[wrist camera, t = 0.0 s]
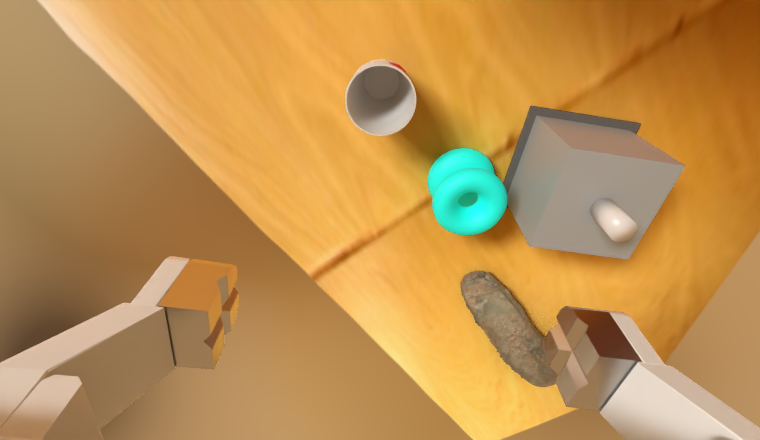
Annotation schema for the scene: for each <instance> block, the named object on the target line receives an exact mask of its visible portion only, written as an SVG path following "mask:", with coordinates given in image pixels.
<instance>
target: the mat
mask: <svg viewBox="0 0 760 440" xmlns="http://www.w3.org/2000/svg"><path fill="white" fill-rule="evenodd" d="M536 115H537V116H543V117H549V118H556V119H562V120H568V121H574V122H581V123H587V124H593V125H599V126H606V127H612V128H618V129H624V130H630V131H632V132H633V133H635V134H636V133H637V131H638V129H639V127H640V125H641V124H640V123H635V122H629V121H623V120H617V119H611V118H604V117H598V116H592V115H586V114H580V113H573V112H567V111H561V110H555V109H549V108H542V107H536V106H530V109H529V112H528V115H527V118H526V120H525V123H524V126H523V129H522V132H521V135H520V137H519V140H518V143H517V146H516V149H515V152H514V154H513V157H512V160H511V163H510V166H509V169H508V171H507V174H506V177H505V180H504V183H503V185H504V186H505V189H506V192H507V195H508V192H509V189H510V186H511V184H512V181H513V178H514V175H515V173H516V170H517V167H518V165H519V162H520V159H521V156H522V154H523V151H524V148H525V145H526V143H527V140H528V137H529V134H530V132H531V129H532V126H533V124H534V121H535V118H536ZM507 208H509V207H508V205H507Z"/></svg>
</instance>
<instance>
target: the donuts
mask: <svg viewBox="0 0 760 440" xmlns="http://www.w3.org/2000/svg"><path fill="white" fill-rule="evenodd" d="M428 188H429V192H430V194H431V196H432V197H433V202H432V207H433V212H434V216H435V218H436V220H437V221H438V223H439V224H440V225H441V226H442V227H443V228H445V229H446V230H448V231H449V232H452V233H454V234H458V235H464V236H469V235H476V234H480V233H483V232H485V231H487V230H489V229H490V228H492V227H493V226H494V225H496V224H497V223H498V222H499V220H500V219H501V218H502V216H503V214H504V212H505V210H506V207H507V192H506V189H505V186H504V185H503V183H502V181H501V180H500V179H499V178H498V177H497V176H496V175H495V172H494V168H493V165H492V163H491V162H490V160H489V159H488V158H487V157H486V156H485V155H484V154H482V153H481V152H479V151H477V150H474V149H470V148H458V149H453V150H450V151H448V152H446V153H444V154H443V155H441V156H440V157H439V158H438V159H437V160H436V161H435V162H434V164H433V165H432V167H431V169H430V171H429V174H428Z"/></svg>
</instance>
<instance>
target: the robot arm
mask: <svg viewBox="0 0 760 440" xmlns="http://www.w3.org/2000/svg"><path fill="white" fill-rule="evenodd" d="M237 279H238V274H237V267H236V266H235V265H231V264H224V263H217V262H210V261H203V260H197V259H188V258H180V257H174V256H170V257H168V258H166V259H165V260H164V261H163V263H162V264H161V265H160V267H159V268H158V269H157V270H156V272H155V273H154V274H153V276H152V277H151V278H150V280H149V281H148V282H147V283H146V285H145V286H144V287H143V288H142V290H141V291H140V292H139V293H138V295H137V296H136V297H135V299H134V300H133V301H132V302H131V304H130V303H122V304H120V305H118V306H116V307H114V308H112V309H110V310H108V311H106V312H104V313H102V314H100V315H98V316H96V317H94V318H91V319H90V320H87V321H85V322H83V323H81V324H79V325H77V326H75V327H73V328H71V329H69V330H67V331H65V332H63V333H60V334H58V335H56V336H54V337H52V338H50V339H48V340H46V341H44V342H42V343H40V344H38V345H36V346H34V347H32V348H30V349H28V350H25V351H23V352H22V353H19V354H17V355H15V356H13V357H11V358H9V359H7V360H5V361H3V362H1V363H0V440H103V437H102V434H101V432H100V429H101V428H102V427H104V426H105V425H106V424H107V423H108V422H110V421H111V420H112V419H113V418H115V417H116V416H117V415H118V414H119V413H121V412H122V411H123V410H125V409H126V408H127V407H128V406H130V405H131V404H132V403H133V402H134V401H136V400H137V399H138V398H139V397H141V396H142V395H143V394H144V393H146V392H147V391H148V390H149V389H150V388H152V387H153V386H154V385H155V384H157V383H158V382H159V381H160V380H162V379H163V378H164V377H165V376H167V375H168V374H169V373H170V372H171V371H173V370H174V369H175V366H176V367H189V368H202V369H215V366H216V364H217V362H218V359H219V357H220V355H221V352H222V350H223V348H224V335H225V334H227V333H228V332H230V331H231V329H232V327H233V325H234V322H235V319H236V315H237V311H238V303H239V293H238V291H237V290H236V289H235V288H234V285H235V283H236V281H237ZM557 320H558V323H559V324H558V325H556V326H555V327H553V328H551V329H550V330H549V332H548V334H547V336H546V338H545V347H544V351H545V356H546V360H547V362H548V365H549V367H550V368H551V369H552V370H554V371H555V372H556V373H557V374H558V377H557V380H556V384H557V386H558V389H559V391H560V393H561V396H562V398H563V400H564V403H565V405H566V407H573V408H581V409H589V410H596V411H601V412H600V414H601V415H602V416H603V417H604V418H605V419H606V420H607V421H608V422H609V423H610V424H611V425H612V427H613V428H615V430H616V431H617V432H618V433H619V434H620V435H621V436H622V437H623V438H624V439H625V440H760V428H759V427H757V426H756V425H754V424H753V423H752V422H750V421H749V420H747V419H746V418H745V417H743V416H742V415H740V414H739V413H737V412H736V411H734V410H733V409H732V408H730V407H729V406H727V405H726V404H725V403H723V402H722V401H720V400H719V399H718V398H716V397H715V396H713V395H712V394H710V393H709V392H708V391H706V390H705V389H703V388H702V387H701V386H699V385H698V384H696V383H695V382H693V381H692V380H691V379H689V378H688V377H686V376H685V375H684V374H682V373H680V372H679V371H678V370H676V369H675V368H673V367H672V366H668V365H665V364H664V363H663V361H662V360H661V359H660V357H659V356H658V355H657V353H656V352H655V350H654V349H653V348H652V346H651V345H650V343H649V342H648V341H647V339H646V338H645V337H644V335H643V334H642V332H641V331H640V330H639V328H638V327H637V326H636V324H635V323H634V321H633V320H632V319H631V317H630V316H629V315H627V314H626V313H624V312H616V311H607V310H604V311H602V310H594V309H586V308H577V307H569V306H565V307H564V308H562V309H561V310H560V312H559V313H558V315H557Z"/></svg>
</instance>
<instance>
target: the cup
mask: <svg viewBox="0 0 760 440" xmlns="http://www.w3.org/2000/svg"><path fill="white" fill-rule="evenodd" d="M345 106H346V110H347V113H348V115H349V117H350V119H351V121H352V122H353V123H354V124H355V125H356V126H357V127H358V128H359V129H361V130H362V131H364V132H366V133H368V134H371V135H376V136H386V135H391V134H394V133H396V132H398V131H400V130H401V129H402V128H404V127H405V126H406V125H407V124H408V123H409V121H410V120H411V118H412V116H413V114H414V112H415V108H416V92H415V88H414V86H413V84H412V82H411V80H410V78H409V76H408V74H407V73H406V71H405V70H404V69H403V68H402V67H401V66H400V65H398V64H397V63H395V62H392V61H390V60H386V59H376V60H373V61H370V62H367V63H366V64H364V65H363V66H361V67H360V68H359V69H358V70H357V72H356V73H355V74H354V76H353V78H352V79H351V81H350V82H349V84H348V87H347V89H346V94H345Z"/></svg>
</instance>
